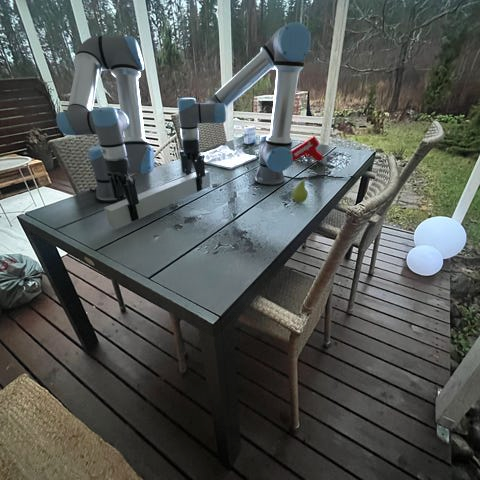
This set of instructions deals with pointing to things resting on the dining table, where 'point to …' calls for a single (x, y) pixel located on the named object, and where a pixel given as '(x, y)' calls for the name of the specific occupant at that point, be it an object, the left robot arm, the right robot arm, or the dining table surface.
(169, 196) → the bar
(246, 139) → the ink box
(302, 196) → the fruit
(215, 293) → the dining table surface
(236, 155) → the relief map
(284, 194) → the dining table surface
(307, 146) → the toy gun
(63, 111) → the left robot arm
